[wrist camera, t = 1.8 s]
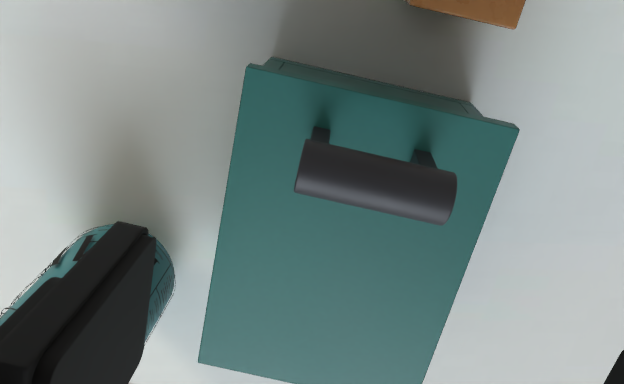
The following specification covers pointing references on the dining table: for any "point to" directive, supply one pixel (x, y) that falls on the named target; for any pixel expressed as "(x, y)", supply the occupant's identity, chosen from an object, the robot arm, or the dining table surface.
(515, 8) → the block
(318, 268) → the lunchbox lid
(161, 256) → the beverage bottle
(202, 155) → the dining table surface
